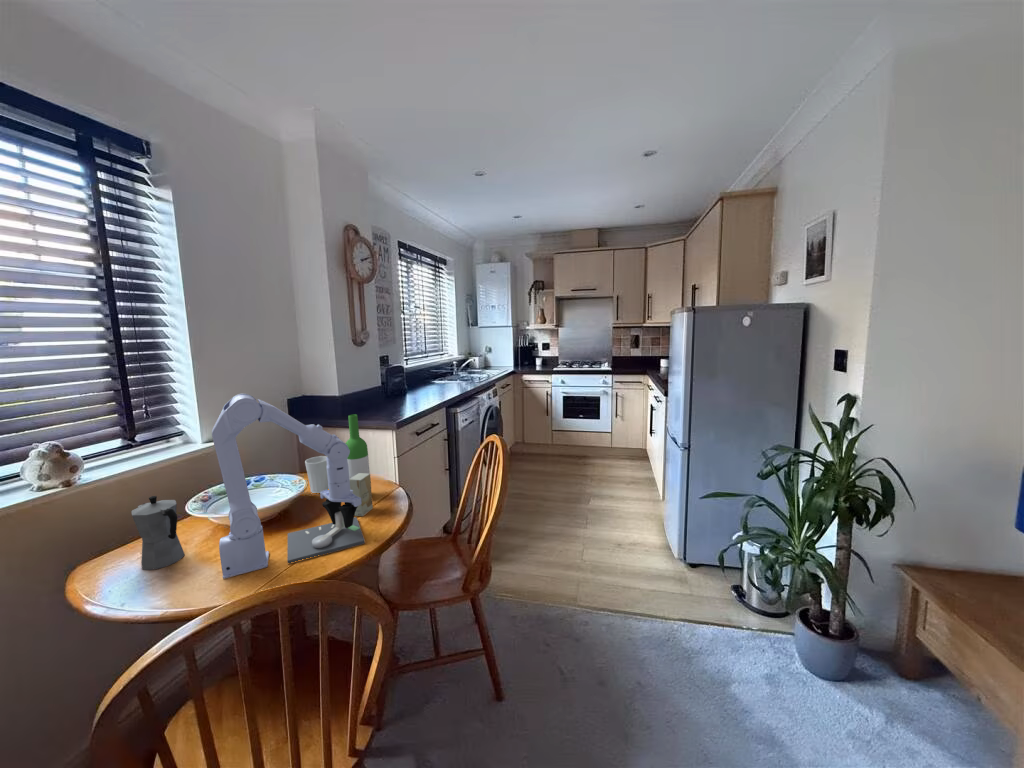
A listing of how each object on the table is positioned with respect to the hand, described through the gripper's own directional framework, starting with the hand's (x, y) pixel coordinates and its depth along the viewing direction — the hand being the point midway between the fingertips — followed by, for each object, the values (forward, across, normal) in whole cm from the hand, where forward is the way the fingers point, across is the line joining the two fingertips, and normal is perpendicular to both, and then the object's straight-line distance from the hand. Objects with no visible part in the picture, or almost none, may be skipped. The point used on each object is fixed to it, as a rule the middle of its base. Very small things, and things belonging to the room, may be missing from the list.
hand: (342, 524), depth 118 cm
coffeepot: (+4, +33, +29) cm, 44 cm away
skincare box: (+3, +6, -13) cm, 15 cm away
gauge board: (+3, +2, +4) cm, 6 cm away
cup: (+3, +35, -20) cm, 40 cm away
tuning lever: (+2, +1, +3) cm, 4 cm away
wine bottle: (+3, +16, -21) cm, 26 cm away
